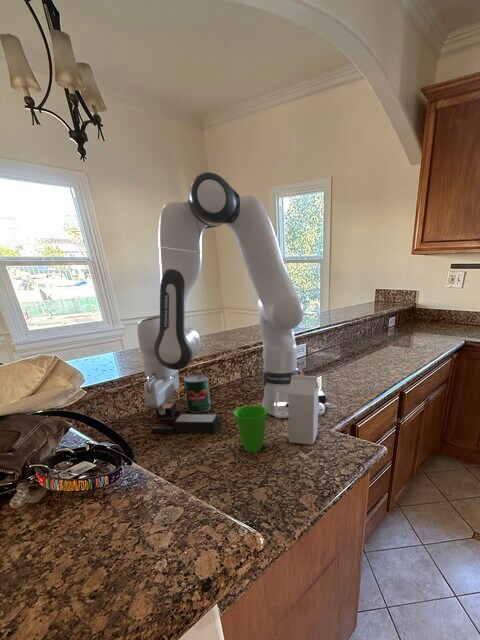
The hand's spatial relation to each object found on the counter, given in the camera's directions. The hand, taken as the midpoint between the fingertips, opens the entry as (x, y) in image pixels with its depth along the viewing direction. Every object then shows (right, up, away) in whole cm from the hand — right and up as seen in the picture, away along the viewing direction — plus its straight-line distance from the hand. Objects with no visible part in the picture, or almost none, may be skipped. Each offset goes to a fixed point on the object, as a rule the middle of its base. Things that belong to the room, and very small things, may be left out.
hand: (166, 410), depth 118 cm
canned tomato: (+9, +1, +6) cm, 11 cm away
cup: (+32, -12, -20) cm, 39 cm away
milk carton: (+46, -9, -14) cm, 49 cm away
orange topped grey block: (0, -1, +1) cm, 2 cm away
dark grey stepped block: (+10, -6, -8) cm, 14 cm away
